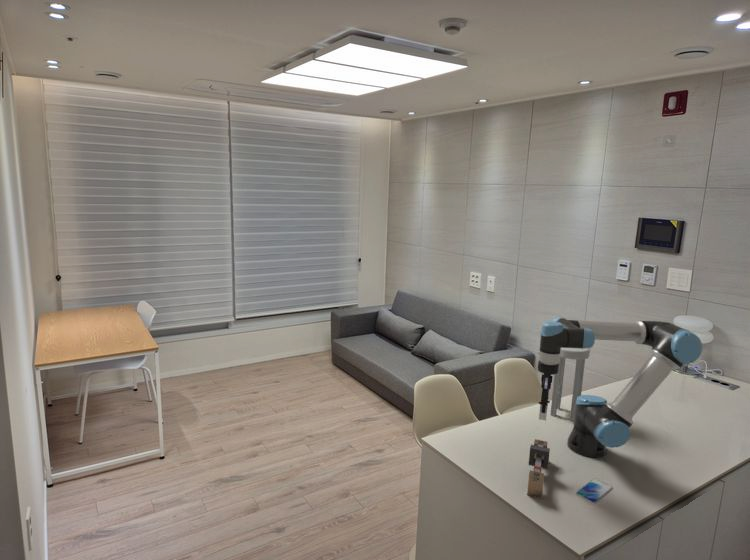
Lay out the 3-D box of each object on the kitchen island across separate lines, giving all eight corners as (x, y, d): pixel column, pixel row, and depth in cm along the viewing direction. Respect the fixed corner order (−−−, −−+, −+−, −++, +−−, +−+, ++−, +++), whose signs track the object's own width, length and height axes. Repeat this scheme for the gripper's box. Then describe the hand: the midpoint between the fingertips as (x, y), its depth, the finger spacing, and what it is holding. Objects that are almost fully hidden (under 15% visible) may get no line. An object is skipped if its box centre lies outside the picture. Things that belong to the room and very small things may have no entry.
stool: (584, 412, 238) (592, 345, 232) (578, 424, 226) (586, 353, 219) (552, 404, 247) (558, 339, 240) (544, 415, 234) (551, 347, 227)
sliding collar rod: (545, 459, 194) (547, 441, 193) (541, 498, 169) (544, 477, 168) (533, 457, 196) (534, 438, 195) (527, 495, 171) (529, 473, 169)
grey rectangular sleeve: (548, 465, 184) (549, 448, 183) (547, 469, 181) (549, 452, 180) (529, 460, 187) (530, 444, 185) (528, 464, 184) (530, 448, 183)
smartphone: (613, 487, 177) (594, 503, 167) (613, 489, 177) (594, 505, 167) (594, 477, 182) (575, 492, 172) (593, 479, 182) (574, 494, 172)
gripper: (539, 355, 190) (533, 410, 194) (537, 365, 178) (531, 424, 182) (559, 358, 187) (553, 414, 192) (558, 369, 175) (552, 428, 180)
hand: (542, 419), depth 187 cm, fingers closed
